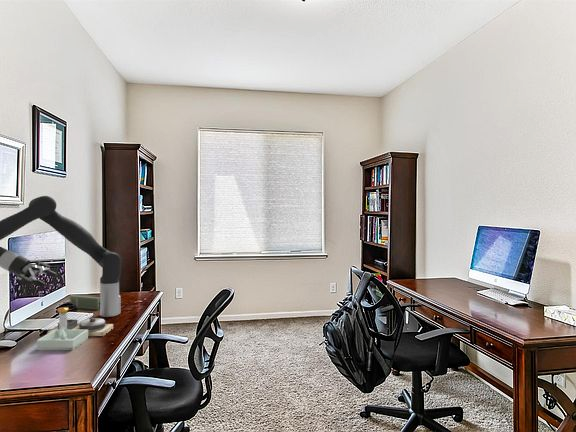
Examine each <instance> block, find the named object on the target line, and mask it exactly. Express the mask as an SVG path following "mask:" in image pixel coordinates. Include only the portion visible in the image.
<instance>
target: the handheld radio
mask: <svg viewBox="0 0 576 432" xmlns="http://www.w3.org/2000/svg"><path fill="white" fill-rule="evenodd" d="M69 301H70V302H69V303H72V304H75V305H76V307H75V308H79V309H88V310H96V311H98V310H99V311H100V296H99V297H98V296H88V295H77V294H76V295H75V294H71V295H69Z"/></svg>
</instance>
